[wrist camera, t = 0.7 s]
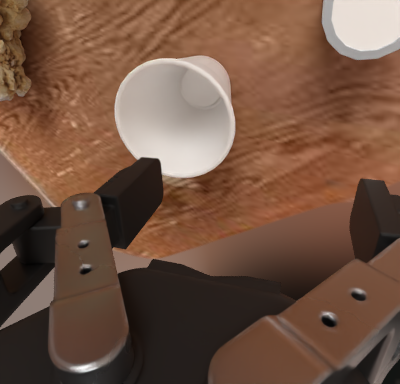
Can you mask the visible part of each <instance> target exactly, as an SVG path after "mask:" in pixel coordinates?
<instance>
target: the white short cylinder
mask: <svg viewBox="0 0 400 384" xmlns="http://www.w3.org/2000/svg"><path fill="white" fill-rule="evenodd" d="M322 25H323V28H324V31H325V34H326V38H327V41H328V42H329V43H330V44H331V45H332V46H333V47H334V48H335V49H336V50H337V51H338V52H339V53H340V54H342V55H345V56H347V57H350V58H353V59H356V60H365V59H378V58H380V57H382V56H385V55H387V54H389V53H392V52H394V51H396V50H398V49H399V48H400V0H323V9H322Z"/></svg>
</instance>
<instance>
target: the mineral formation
mask: <svg viewBox="0 0 400 384" xmlns="http://www.w3.org/2000/svg"><path fill="white" fill-rule="evenodd" d="M27 5H28V0H0V101H4V100H9V101H10V100H12V99H13V95H14V93H16V94H18V96H24V95H25V94H26V93H27V92H28V90H29V88H30V86H31V80H30V79H29V78H28V77H27V76H26V75H25V74H24V68H23V67H22V66H21V64H22V63H23V62H24V61H25V60H26V55H25V53H24V48H23V46H22V44H21V41H20V39H19V38H20V36H21V32H20V30H22V29H24V28H25V27H27V25H28V23H29V21H30V20H31V14H30V12H29V10H28V9H27V8H26V6H27Z"/></svg>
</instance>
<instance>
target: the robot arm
mask: <svg viewBox="0 0 400 384" xmlns="http://www.w3.org/2000/svg"><path fill="white" fill-rule="evenodd" d="M162 199H163V181H162V170H161V162H160V160H159V159H158V158H148V157H141V158H140V159H138V160H137V161H136V162H135V163H134V164H133V165H132V166H129V167H127V168H125V169H123V170H120V171H119V172H118V173H117V174H115V175H114V176H113V177H112V178H111V179H109V180H108V182H106V183H105V184H104V185H102V186H101V187H100V188H99V189H98V190H96V191H95V192H94V193H80V194H76V195H73V196H70V197H68V198H67V199H65V200H64V201H63V202H62V204H61V207H50V208H43V206H42V202H41V199H40V198H39V197H37V196H33V195H26V196H20V197H16V198H13V199H10V200H8V201H6V202H5V203H3V204H2V205H0V253H1V252H2V251H3V250H4V249H5V248H6V247H8V246H9V245H10V244H11V243H12V244H13V246H14V249H15V252H16V254H17V256H16V257H15V258H14V259H13V260H12V261H10V262H9V263H8V264H7V265H6V266H5V267H4V268H3V269H2V270H1V271H0V327H1V325H2V324H3V323H4V322H5V321H6V320H7V319H8V318H9V317H10V316H11V314H12V313H13V312H14V311H15V310H16V309H17V308H18V307H19V306H20V304H21V303H22V302H23V301H24V300H25V299H26V298H27V297H28V296H29V295H30V293H31V292H32V291H33V290H34V289H35V288H36V287H37V286H38V285H39V283H40V282H41V281H42V280H43V279H44V278H45V277H46V276H47V275H48V274H49V272H50V271H51V270H52V269H53V268H54V267H55V274H54V300H53V301H52V302H51V303H50V306H49V307H47V308H45V309H43V310H41V311H39V312H37V313H35V314H32V315H31V316H28V317H26V318H24V319H22V320H20V321H18V322H16V323H14V324H12V325H10V326H8V327H6V328H3V329H1V330H0V384H381V383H382V381H383V379H384V378H385V376H386V374H387V373H388V372H389V370H390V369H391V368H392V367H393V366H394V364H395V363H396V362H397V361H398V359H399V358H400V196H398V195H390V194H389V191H388V189H387V187H386V184H385V182H384V181H381V180H371V179H360V181H359V184H358V187H357V191H356V196H355V200H354V204H353V208H352V212H351V216H350V234H351V239H352V245H353V250H354V255H355V259H354V260H352V261H351V262H349V263H348V264H347V265H345V266H344V267H343V268H341V269H340V270H339V271H337V272H336V273H335V274H333V275H332V276H330V277H329V278H328V279H326V280H325V281H324V282H322V283H321V284H320V285H318V286H317V287H315V288H314V289H313V290H311V291H310V292H309V293H308V294H306V295H305V296H303V297H302V298H301V299H299V300H298V301H295V300H294V299H292V298H290V297H288V296H286V295H284V294H281V293H280V287H281V283H280V282H274V281H269V280H264V279H258V278H253V277H246V276H239V277H238V276H235V277H234V276H209V275H207V274H204V273H202V272H199V271H197V270H194V269H192V268H190V267H187V266H185V265H182V264H177V263H172V262H167V261H161V260H156V259H153V260H152V261H151V263H150V264H149V266H148V267H147V268H138V269H132V270H128V271H124V272H121V273H118V274H117V270H116V266H115V261H114V257H113V252H112V248H113V247H116V248H121V249H126V248H127V247H128V246H129V245H130V243H131V242H132V241H133V239H134V238H135V237H136V235H137V234H138V233H139V231H140V230H141V229H142V228H143V226H144V225H145V224H146V222H147V221H148V220H149V218H150V217H151V216H152V215H153V213H154V212H155V211H156V209H157V208H158V207H159V205H160V204H161V202H162Z"/></svg>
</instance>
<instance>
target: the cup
mask: <svg viewBox="0 0 400 384" xmlns="http://www.w3.org/2000/svg"><path fill="white" fill-rule="evenodd" d="M115 121H116V125H117V129H118V132H119V134H120V137H121V139H122V141H123V142H124V144H125V146H126V147H127V149H128V150H129V151H130V152H131V154H132V155H133V156H134V157H135V158H136V159H137V160H138V159H140V158H141V157H148V158H158V159H159V160H160V162H161V170H162V175H165V176H169V177H175V178H191V177H196V176H200V175H203V174H205V173H207V172H209V171H211V170H213V169H214V168H215V167H217V166H218V165H219V164H220V163H221V162H222V161H223V160H224V158H225V157H226V156H227V155H228V153H229V151H230V148H231V146H232V144H233V140H234V136H235V117H234V112H233V108H232V105H231V84H230V79H229V76H228V73H227V71H226V70H225V68H224V67H223V66H222V65H221V64H220V63H219V62H218V61H216V60H215V59H213V58H211V57H208V56H192V57H186V58H180V59H174V58H160V59H155V60H151V61H147V62H145V63H143V64H141V65H139V66H137V67H136V68H135V69H134V70H133V71H131V72H130V73H129V74H128V75H127V76H126V78H125V79H124V80H123V82H122V83H121V85H120V87H119V90H118V92H117V95H116V100H115Z"/></svg>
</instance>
